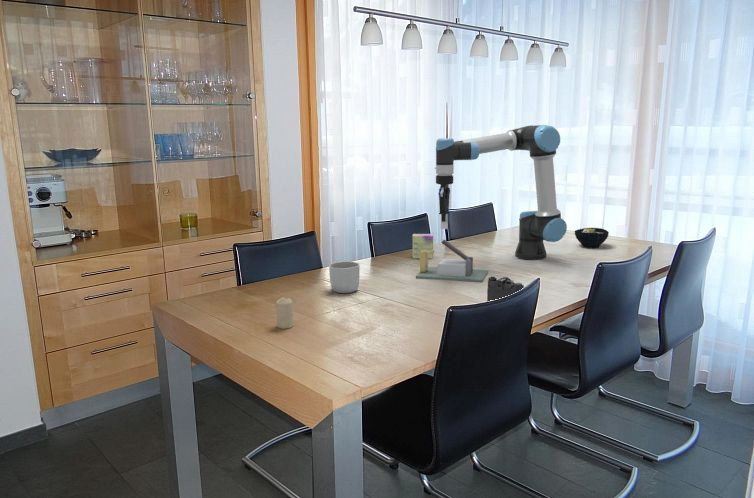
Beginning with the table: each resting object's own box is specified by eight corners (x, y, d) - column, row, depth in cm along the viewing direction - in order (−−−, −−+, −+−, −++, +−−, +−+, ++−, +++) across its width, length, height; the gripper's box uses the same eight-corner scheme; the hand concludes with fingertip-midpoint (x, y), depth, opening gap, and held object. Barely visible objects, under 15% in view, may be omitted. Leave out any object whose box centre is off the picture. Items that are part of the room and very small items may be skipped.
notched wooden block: (434, 270, 265) (434, 250, 263) (431, 272, 261) (431, 252, 259) (422, 269, 267) (422, 249, 265) (420, 272, 262) (419, 252, 260)
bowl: (610, 245, 316) (611, 226, 314) (604, 251, 301) (605, 232, 299) (578, 242, 325) (579, 224, 323) (570, 248, 310) (571, 229, 308)
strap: (470, 262, 258) (472, 259, 258) (469, 263, 255) (471, 261, 255) (442, 241, 260) (444, 239, 260) (441, 242, 257) (442, 240, 257)
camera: (533, 303, 218) (534, 277, 216) (518, 310, 210) (519, 283, 208) (499, 296, 227) (500, 271, 225) (484, 302, 220) (484, 276, 218)
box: (433, 256, 299) (433, 233, 297) (433, 258, 294) (433, 235, 291) (412, 256, 300) (412, 233, 298) (412, 258, 295) (412, 235, 292)
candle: (278, 323, 201) (276, 295, 199) (294, 323, 201) (292, 295, 199) (276, 329, 196) (274, 300, 194) (293, 328, 196) (291, 299, 194)
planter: (337, 296, 232) (336, 269, 229) (325, 289, 242) (324, 263, 240) (365, 292, 237) (364, 265, 235) (352, 285, 248) (351, 260, 246)
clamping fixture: (488, 272, 264) (488, 254, 263) (482, 282, 247) (482, 263, 246) (425, 268, 273) (425, 251, 272) (415, 278, 257) (415, 260, 255)
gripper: (439, 173, 260) (438, 225, 264) (432, 175, 247) (432, 230, 252) (456, 173, 257) (455, 226, 262) (450, 176, 245) (449, 231, 250)
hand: (444, 228), depth 257 cm, fingers closed
